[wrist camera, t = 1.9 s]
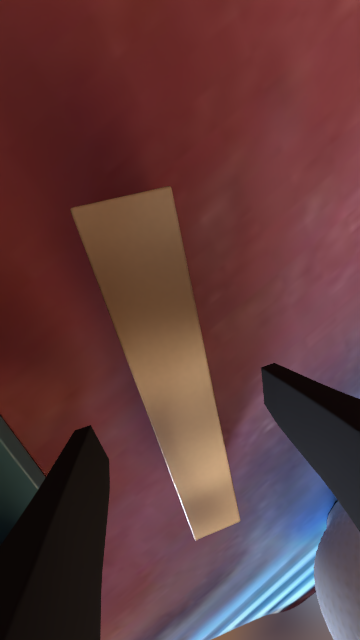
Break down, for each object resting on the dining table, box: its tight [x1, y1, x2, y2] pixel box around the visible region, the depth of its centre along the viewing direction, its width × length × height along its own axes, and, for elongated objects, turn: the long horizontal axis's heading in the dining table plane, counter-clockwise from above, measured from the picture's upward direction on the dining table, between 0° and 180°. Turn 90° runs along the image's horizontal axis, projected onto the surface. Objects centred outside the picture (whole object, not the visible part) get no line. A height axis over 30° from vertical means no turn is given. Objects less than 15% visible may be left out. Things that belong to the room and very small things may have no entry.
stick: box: [71, 186, 240, 540], centre depth 10 cm, size 16×3×3 cm, turn 13°
